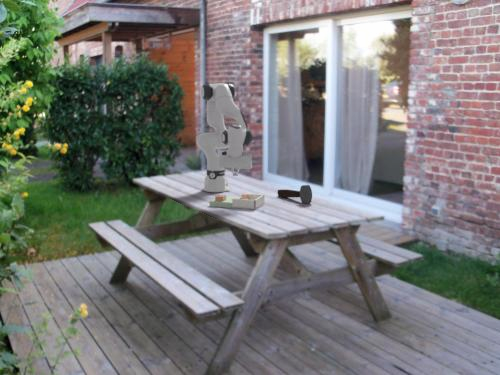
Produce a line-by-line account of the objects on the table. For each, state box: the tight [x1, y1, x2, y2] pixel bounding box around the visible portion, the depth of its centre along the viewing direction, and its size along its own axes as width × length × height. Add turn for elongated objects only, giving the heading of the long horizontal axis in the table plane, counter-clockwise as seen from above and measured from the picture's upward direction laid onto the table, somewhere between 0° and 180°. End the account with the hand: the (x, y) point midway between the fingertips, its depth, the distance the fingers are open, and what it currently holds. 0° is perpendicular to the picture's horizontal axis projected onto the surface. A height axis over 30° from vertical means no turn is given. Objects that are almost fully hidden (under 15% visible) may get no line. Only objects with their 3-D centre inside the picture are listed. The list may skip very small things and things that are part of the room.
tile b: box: [214, 194, 227, 201], centre depth 344 cm, size 5×5×2 cm
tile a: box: [241, 193, 250, 200], centre depth 348 cm, size 5×5×2 cm
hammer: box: [277, 184, 313, 205], centre depth 362 cm, size 5×11×30 cm
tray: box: [231, 193, 265, 210], centre depth 344 cm, size 18×14×5 cm
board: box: [209, 195, 242, 209], centre depth 348 cm, size 18×14×3 cm
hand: (235, 175), depth 347 cm, fingers closed
